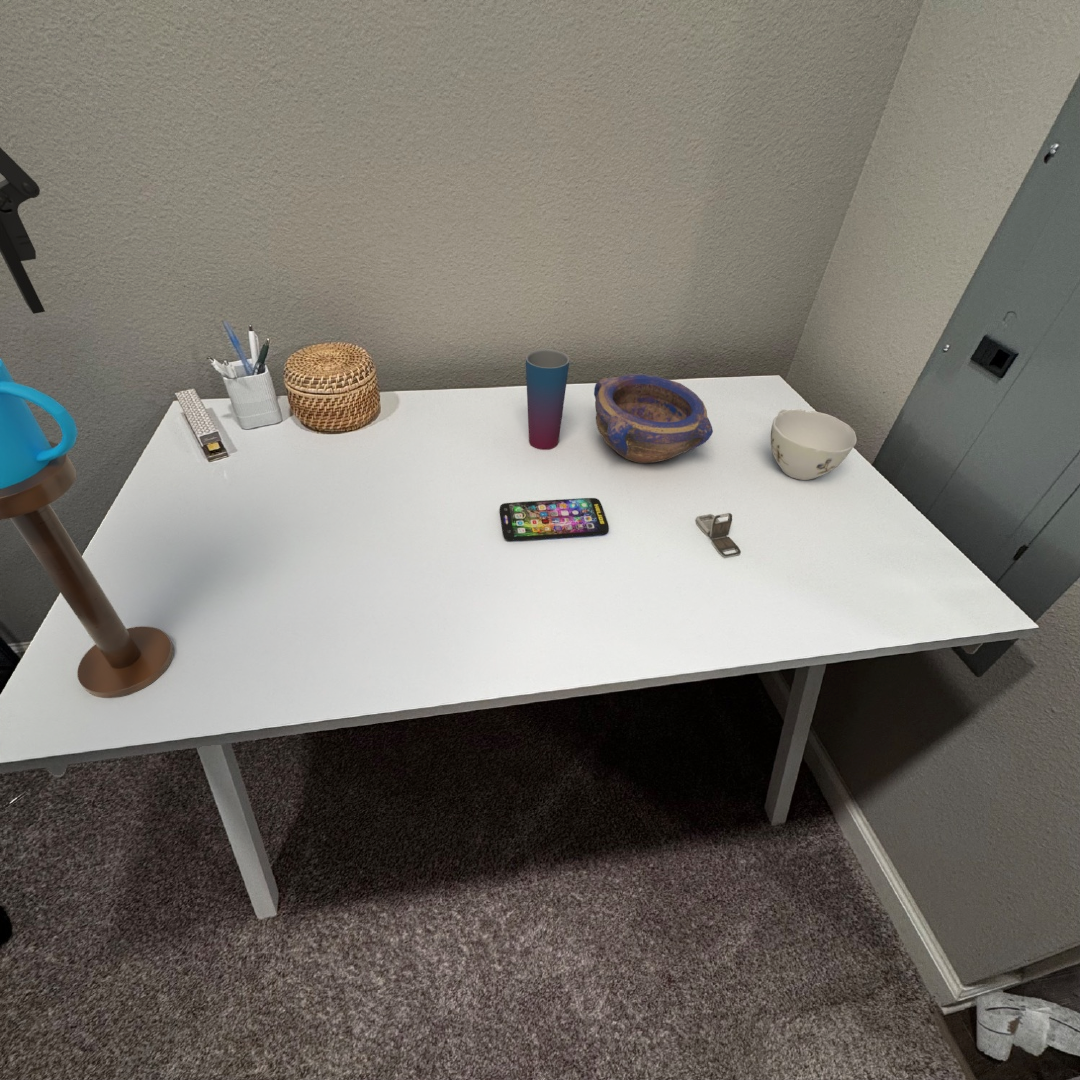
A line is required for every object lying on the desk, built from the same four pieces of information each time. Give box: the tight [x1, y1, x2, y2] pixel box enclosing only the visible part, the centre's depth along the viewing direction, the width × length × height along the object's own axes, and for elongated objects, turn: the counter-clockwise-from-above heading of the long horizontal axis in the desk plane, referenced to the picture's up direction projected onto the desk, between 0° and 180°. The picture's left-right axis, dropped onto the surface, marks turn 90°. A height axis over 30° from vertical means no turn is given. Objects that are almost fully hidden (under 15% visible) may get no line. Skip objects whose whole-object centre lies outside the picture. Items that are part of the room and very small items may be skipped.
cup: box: [525, 348, 571, 450], centre depth 101 cm, size 7×7×15 cm
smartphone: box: [499, 497, 610, 542], centre depth 89 cm, size 8×1×15 cm
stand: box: [0, 440, 174, 699], centre depth 60 cm, size 9×9×26 cm
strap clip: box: [695, 512, 742, 558], centre depth 87 cm, size 8×3×4 cm, turn 17°
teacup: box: [770, 408, 858, 481], centre depth 100 cm, size 15×12×8 cm
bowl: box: [593, 373, 714, 464], centre depth 102 cm, size 18×18×10 cm
